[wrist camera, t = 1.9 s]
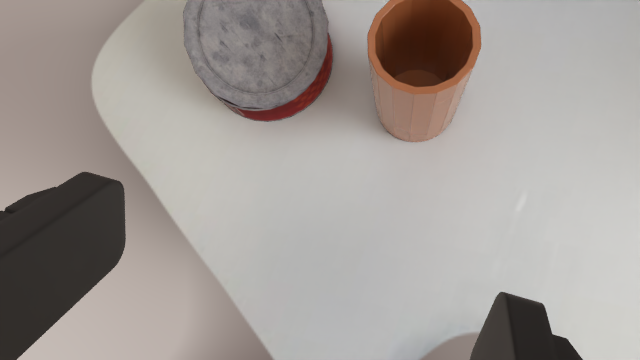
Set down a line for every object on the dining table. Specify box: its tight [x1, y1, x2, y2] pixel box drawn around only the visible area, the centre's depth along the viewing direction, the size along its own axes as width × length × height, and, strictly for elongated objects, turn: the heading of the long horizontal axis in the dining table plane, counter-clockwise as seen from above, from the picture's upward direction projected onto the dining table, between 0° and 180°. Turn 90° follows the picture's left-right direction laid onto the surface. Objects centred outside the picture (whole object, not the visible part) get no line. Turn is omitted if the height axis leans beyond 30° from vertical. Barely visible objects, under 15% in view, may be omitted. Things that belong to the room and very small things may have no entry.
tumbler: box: [368, 0, 481, 142], centre depth 29 cm, size 6×6×11 cm
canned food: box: [183, 0, 333, 121], centre depth 34 cm, size 11×10×10 cm
